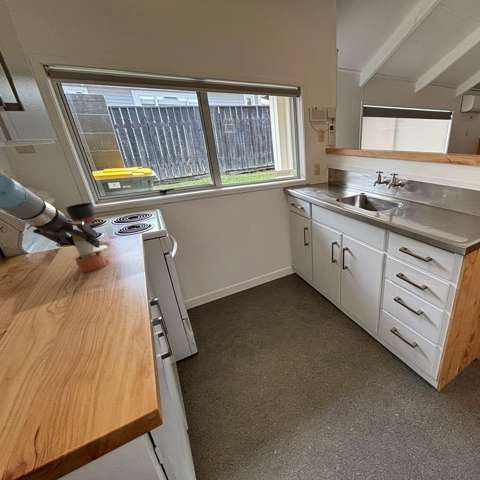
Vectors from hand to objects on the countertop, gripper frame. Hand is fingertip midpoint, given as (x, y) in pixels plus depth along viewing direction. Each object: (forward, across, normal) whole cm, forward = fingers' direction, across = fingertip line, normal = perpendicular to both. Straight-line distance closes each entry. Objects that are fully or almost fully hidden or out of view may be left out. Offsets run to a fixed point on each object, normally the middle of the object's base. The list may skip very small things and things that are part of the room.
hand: (90, 245), depth 99 cm
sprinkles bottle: (+1, 0, -6) cm, 6 cm away
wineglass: (+18, -8, +7) cm, 21 cm away
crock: (+3, 0, -8) cm, 9 cm away
